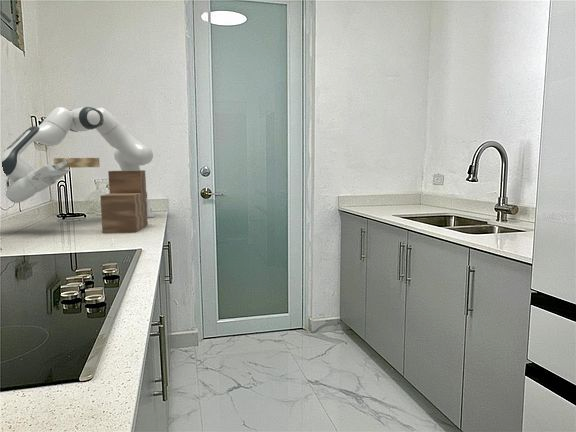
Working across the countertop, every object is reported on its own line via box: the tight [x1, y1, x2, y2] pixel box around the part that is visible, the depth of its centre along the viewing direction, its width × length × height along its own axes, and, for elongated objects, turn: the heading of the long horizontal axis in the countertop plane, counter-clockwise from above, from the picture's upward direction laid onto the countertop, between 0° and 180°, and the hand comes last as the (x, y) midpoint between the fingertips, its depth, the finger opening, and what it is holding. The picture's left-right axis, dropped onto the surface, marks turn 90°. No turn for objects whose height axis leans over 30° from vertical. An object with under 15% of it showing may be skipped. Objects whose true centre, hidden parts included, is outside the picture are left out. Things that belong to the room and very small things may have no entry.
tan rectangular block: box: [53, 157, 100, 169], centre depth 204 cm, size 18×3×4 cm, turn 94°
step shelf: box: [99, 169, 149, 234], centre depth 212 cm, size 23×14×26 cm, turn 4°
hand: (69, 161), depth 203 cm, fingers closed on tan rectangular block, 3 cm apart
